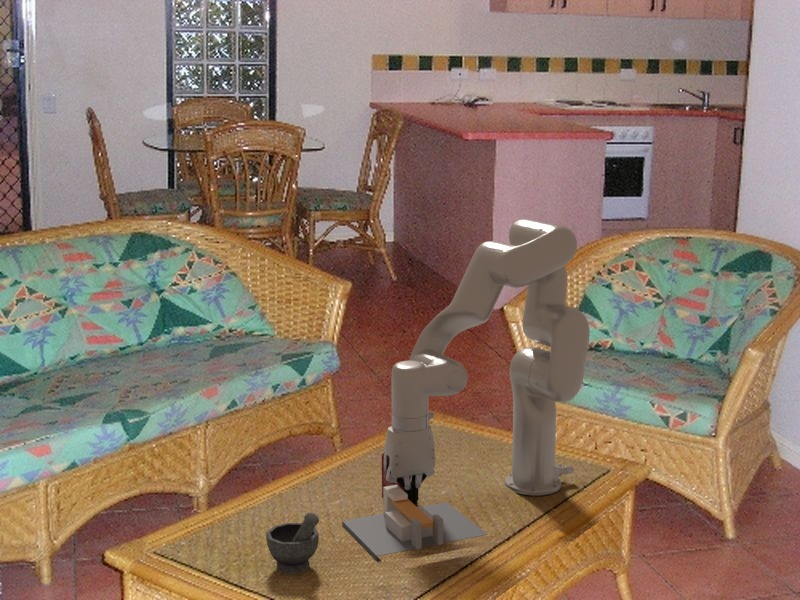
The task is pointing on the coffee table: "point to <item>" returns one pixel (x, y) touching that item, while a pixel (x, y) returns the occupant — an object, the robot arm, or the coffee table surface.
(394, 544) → the board
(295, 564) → the mortar and pestle
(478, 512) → the coffee table surface
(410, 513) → the strap
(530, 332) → the robot arm
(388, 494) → the block
